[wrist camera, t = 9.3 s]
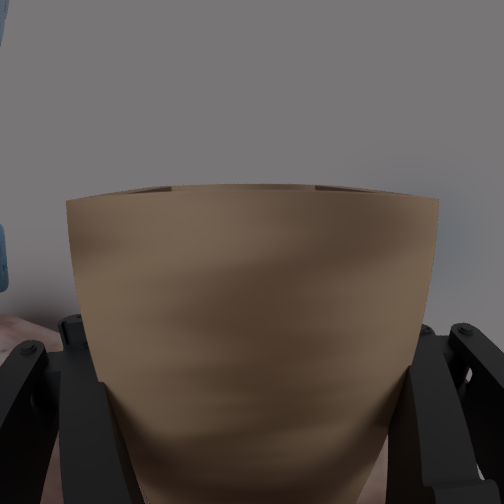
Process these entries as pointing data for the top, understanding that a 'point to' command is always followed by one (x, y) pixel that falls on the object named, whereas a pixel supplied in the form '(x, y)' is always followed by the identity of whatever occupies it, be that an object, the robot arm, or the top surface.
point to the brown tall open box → (252, 332)
